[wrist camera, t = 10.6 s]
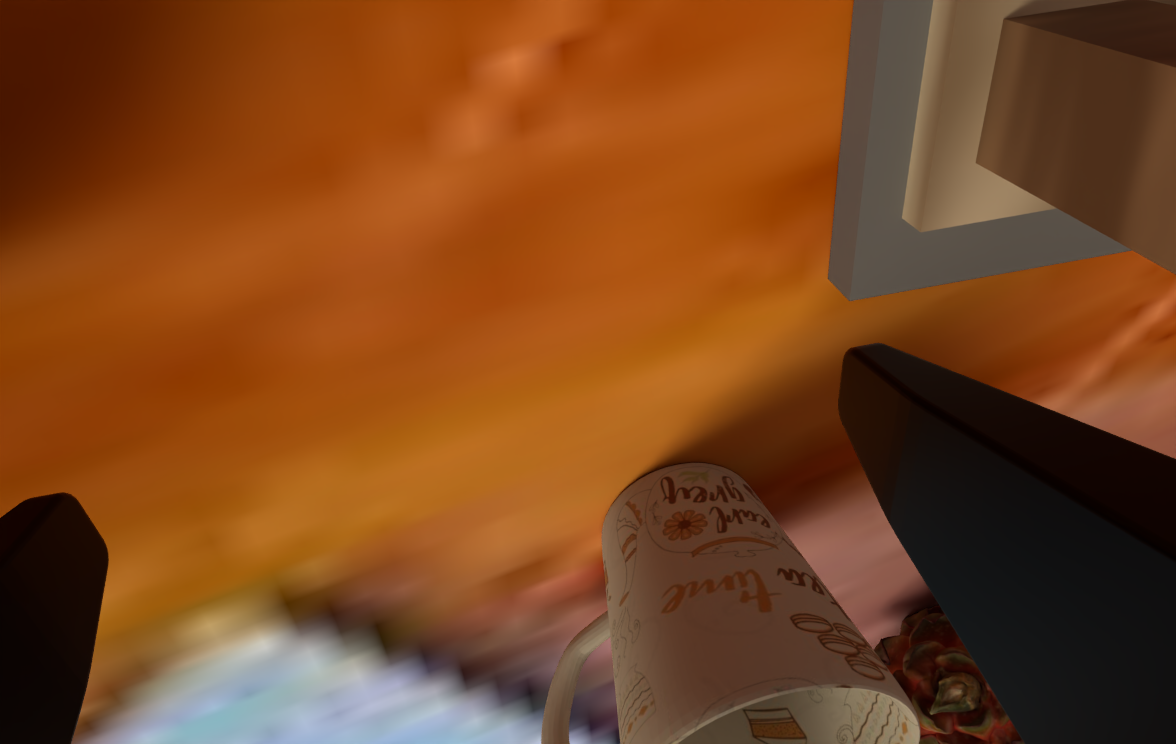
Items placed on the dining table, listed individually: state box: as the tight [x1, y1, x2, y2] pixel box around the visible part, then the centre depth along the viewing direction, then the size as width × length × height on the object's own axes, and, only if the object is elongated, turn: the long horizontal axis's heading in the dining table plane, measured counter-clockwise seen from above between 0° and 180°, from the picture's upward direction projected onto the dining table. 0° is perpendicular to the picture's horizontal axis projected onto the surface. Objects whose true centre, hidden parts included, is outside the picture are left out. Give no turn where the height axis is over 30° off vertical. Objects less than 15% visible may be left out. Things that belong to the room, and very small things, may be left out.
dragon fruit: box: [874, 606, 1024, 744], centre depth 34 cm, size 8×8×12 cm
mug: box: [541, 463, 920, 744], centre depth 26 cm, size 8×13×10 cm, turn 137°
